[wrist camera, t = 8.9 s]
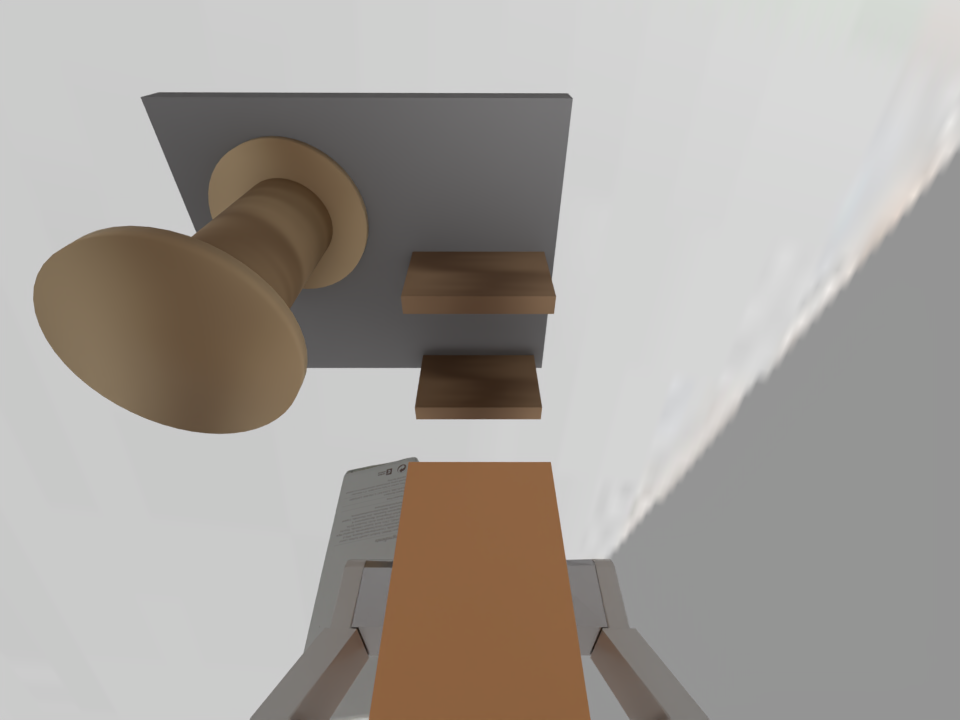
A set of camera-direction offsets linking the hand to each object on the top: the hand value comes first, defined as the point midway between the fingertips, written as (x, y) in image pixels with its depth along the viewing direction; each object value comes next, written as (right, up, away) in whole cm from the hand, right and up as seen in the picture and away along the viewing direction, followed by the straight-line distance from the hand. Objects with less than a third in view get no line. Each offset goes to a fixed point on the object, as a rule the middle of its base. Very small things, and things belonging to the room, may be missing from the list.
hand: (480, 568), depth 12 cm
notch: (0, +8, +10) cm, 13 cm away
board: (-5, +11, +9) cm, 15 cm away
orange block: (0, +1, +2) cm, 2 cm away
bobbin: (-8, +12, +7) cm, 16 cm away
